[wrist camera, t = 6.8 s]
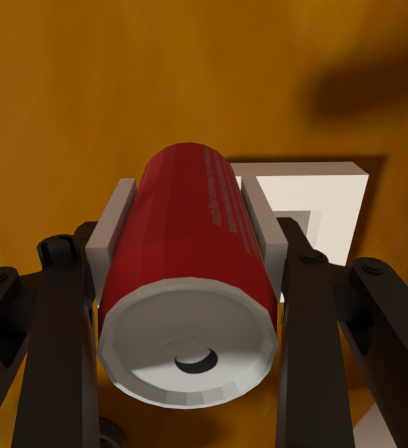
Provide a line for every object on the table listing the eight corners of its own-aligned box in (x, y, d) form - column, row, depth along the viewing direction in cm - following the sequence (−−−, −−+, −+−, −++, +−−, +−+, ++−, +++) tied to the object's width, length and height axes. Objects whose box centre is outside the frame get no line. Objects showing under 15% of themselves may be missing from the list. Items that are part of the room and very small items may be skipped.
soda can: (125, 159, 18) (37, 319, 8) (219, 125, 18) (261, 250, 7) (164, 239, 21) (137, 439, 10) (247, 212, 20) (309, 398, 10)
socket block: (201, 283, 40) (201, 303, 36) (199, 163, 32) (200, 176, 29) (324, 280, 40) (335, 301, 37) (352, 161, 32) (368, 174, 29)
